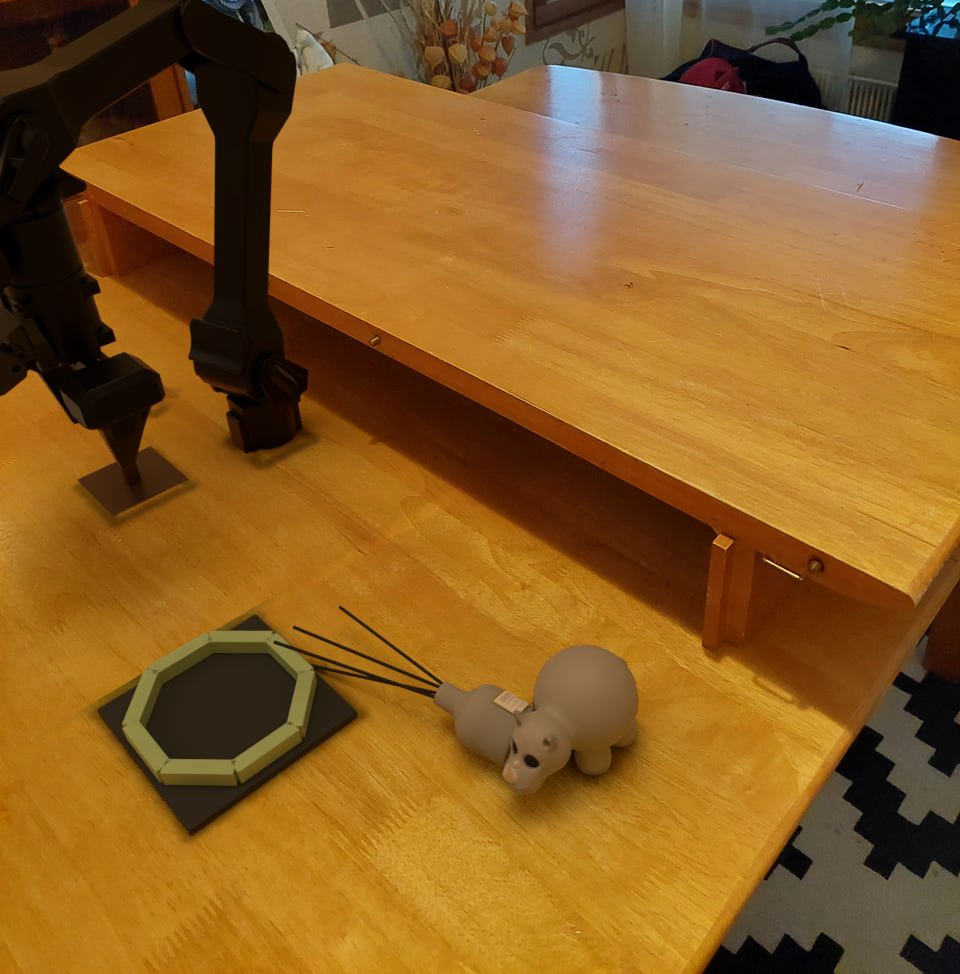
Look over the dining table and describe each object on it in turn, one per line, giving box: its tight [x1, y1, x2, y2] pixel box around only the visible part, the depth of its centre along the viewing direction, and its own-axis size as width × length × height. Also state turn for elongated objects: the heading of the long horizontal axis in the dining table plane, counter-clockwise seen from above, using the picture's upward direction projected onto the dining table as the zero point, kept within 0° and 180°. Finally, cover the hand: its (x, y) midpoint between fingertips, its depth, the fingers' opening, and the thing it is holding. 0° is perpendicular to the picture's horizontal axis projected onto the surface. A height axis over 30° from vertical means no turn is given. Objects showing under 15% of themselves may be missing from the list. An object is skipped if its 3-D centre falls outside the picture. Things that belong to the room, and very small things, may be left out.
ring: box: [122, 630, 317, 786], centre depth 69 cm, size 13×13×1 cm
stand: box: [76, 445, 189, 517], centre depth 90 cm, size 8×8×6 cm
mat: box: [97, 613, 359, 836], centre depth 70 cm, size 14×14×1 cm
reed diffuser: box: [273, 605, 535, 768], centre depth 69 cm, size 10×7×20 cm
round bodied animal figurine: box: [501, 644, 640, 796], centre depth 63 cm, size 7×12×8 cm, turn 135°
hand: (102, 443), depth 77 cm, fingers open, 9 cm apart
